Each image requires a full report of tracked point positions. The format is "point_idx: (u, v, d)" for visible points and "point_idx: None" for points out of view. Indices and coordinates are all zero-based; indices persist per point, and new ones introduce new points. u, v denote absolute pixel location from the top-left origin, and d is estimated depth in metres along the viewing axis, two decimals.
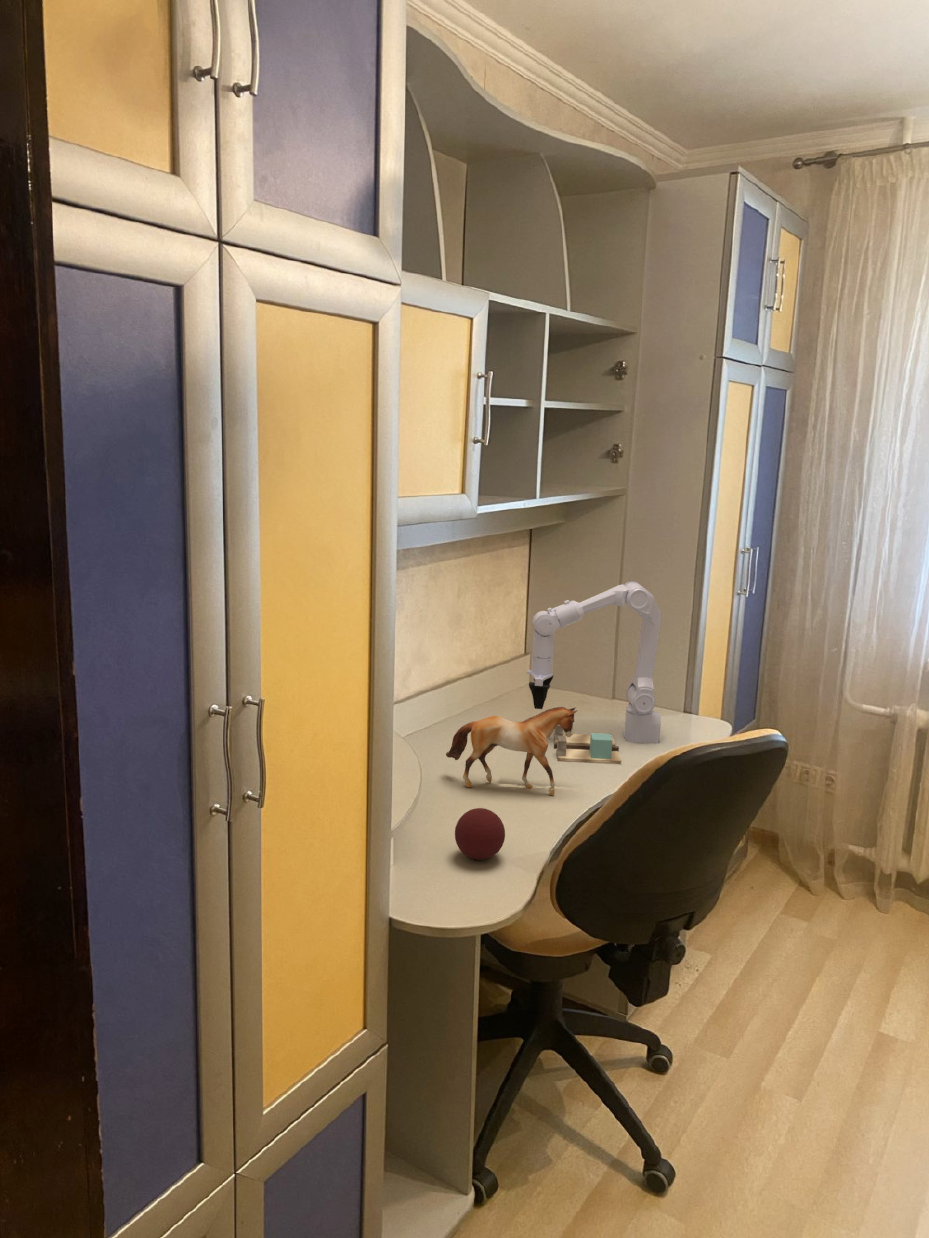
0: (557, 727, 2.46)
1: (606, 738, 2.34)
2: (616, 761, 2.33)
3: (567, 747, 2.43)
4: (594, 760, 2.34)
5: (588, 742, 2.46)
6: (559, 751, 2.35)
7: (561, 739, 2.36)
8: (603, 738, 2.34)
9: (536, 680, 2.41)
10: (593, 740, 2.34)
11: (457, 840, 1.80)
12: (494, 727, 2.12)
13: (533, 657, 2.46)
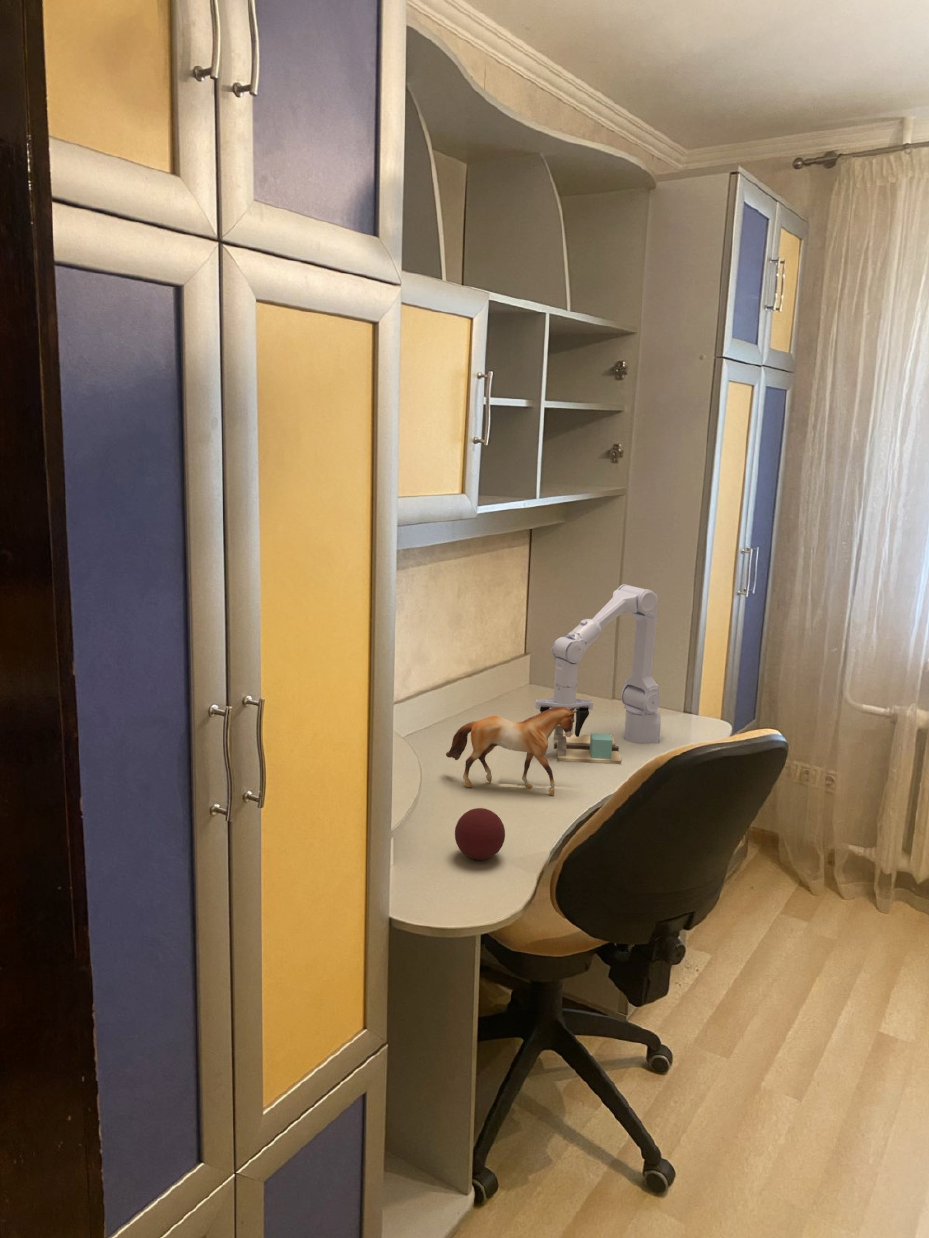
0: (557, 727, 2.46)
1: (606, 738, 2.34)
2: (616, 761, 2.33)
3: (567, 747, 2.43)
4: (594, 760, 2.34)
5: (588, 742, 2.46)
6: (559, 751, 2.35)
7: (561, 739, 2.36)
8: (603, 738, 2.34)
9: None
10: (593, 740, 2.34)
11: (457, 840, 1.80)
12: (494, 727, 2.12)
13: None
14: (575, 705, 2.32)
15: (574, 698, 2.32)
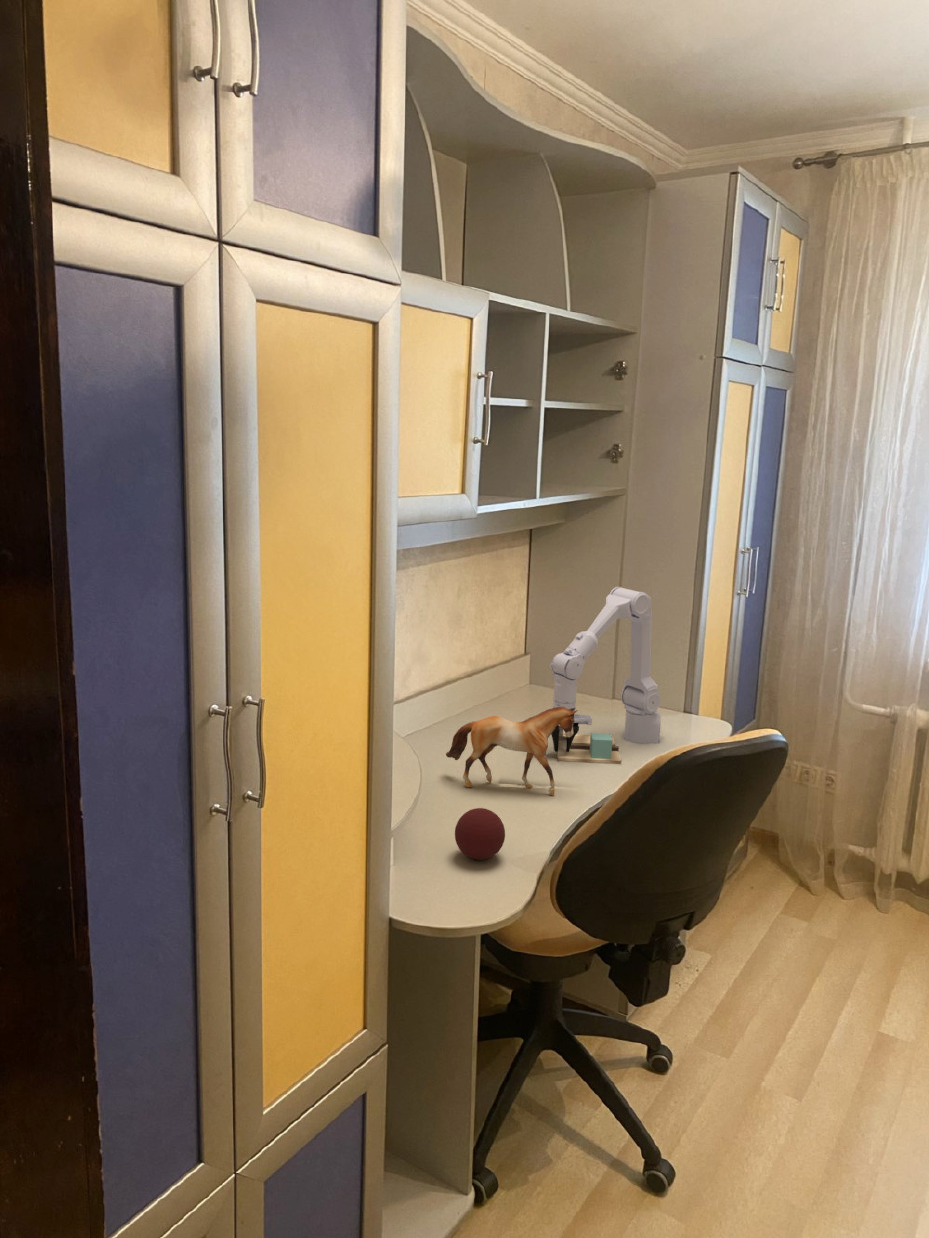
0: None
1: (606, 738, 2.34)
2: (616, 761, 2.33)
3: None
4: (594, 760, 2.34)
5: (588, 742, 2.46)
6: (559, 751, 2.35)
7: (561, 739, 2.36)
8: (603, 738, 2.34)
9: None
10: (593, 740, 2.34)
11: (457, 840, 1.80)
12: (494, 727, 2.12)
13: None
14: (574, 721, 2.33)
15: None
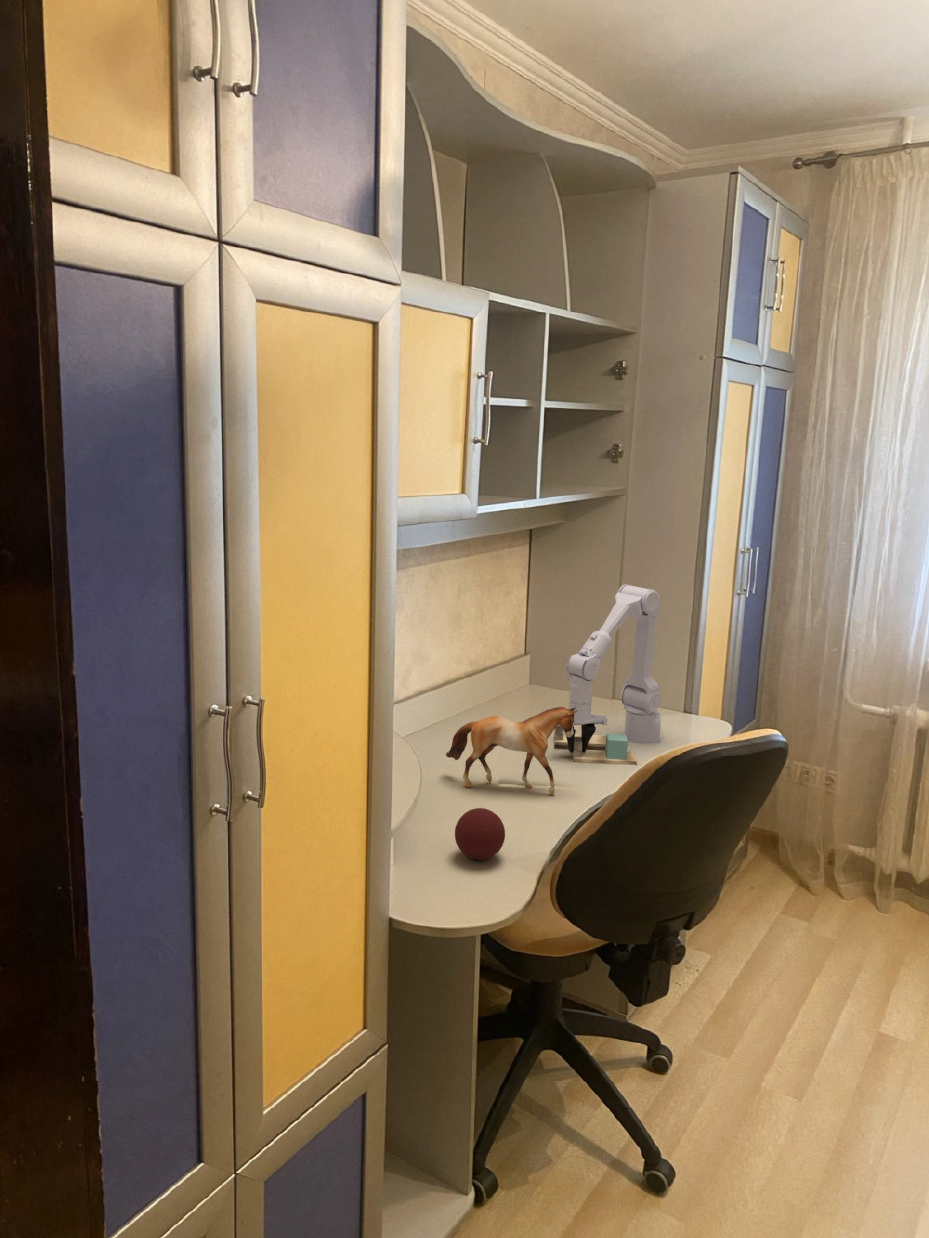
0: (557, 727, 2.46)
1: (622, 739, 2.34)
2: (632, 761, 2.33)
3: (567, 747, 2.43)
4: (610, 761, 2.34)
5: None
6: (575, 752, 2.35)
7: (577, 740, 2.35)
8: (618, 739, 2.34)
9: None
10: (609, 741, 2.34)
11: (457, 840, 1.80)
12: (494, 727, 2.12)
13: None
14: (591, 721, 2.33)
15: (589, 714, 2.33)
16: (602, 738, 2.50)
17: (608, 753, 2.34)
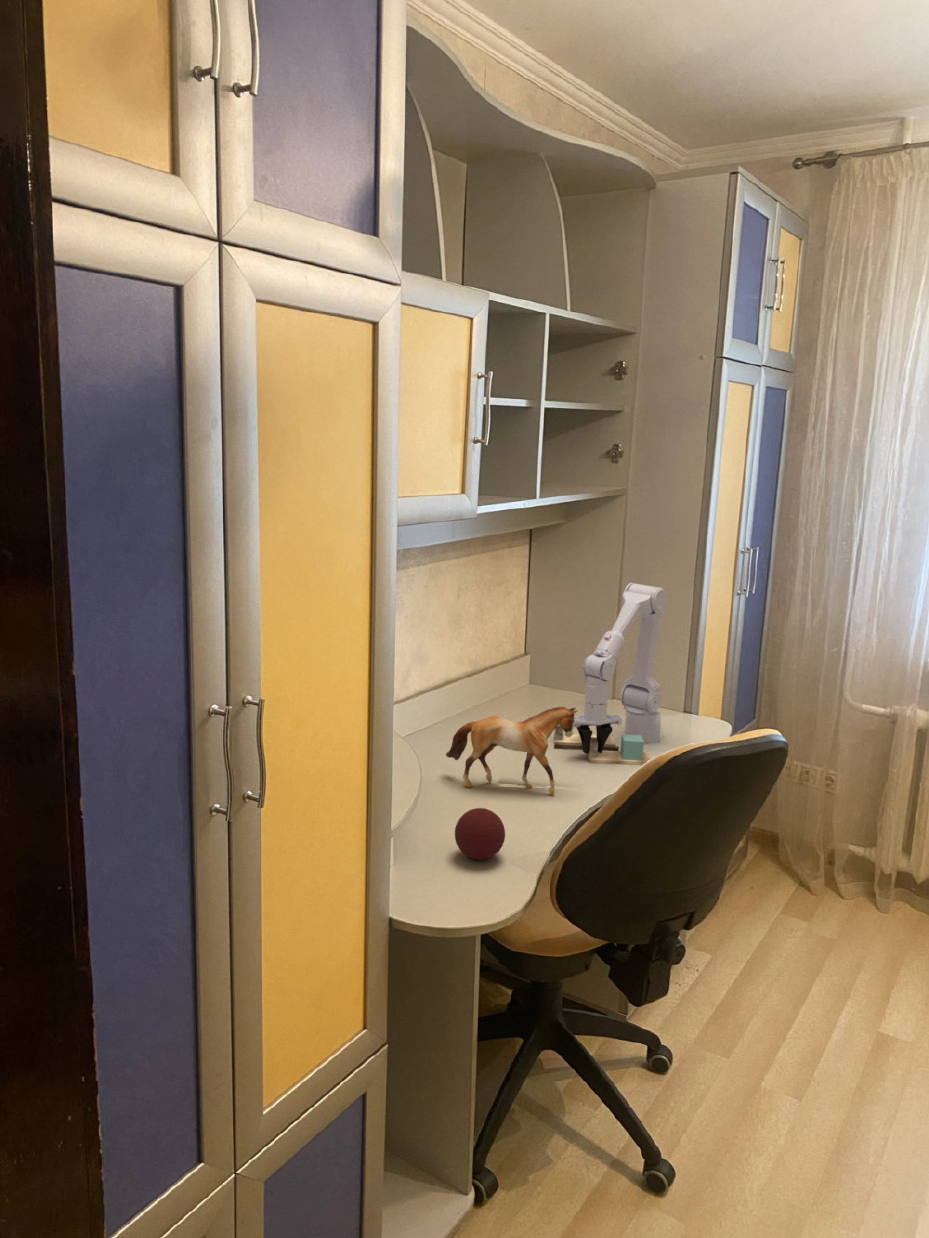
0: (557, 727, 2.46)
1: (638, 740, 2.34)
2: None
3: (567, 747, 2.43)
4: (626, 762, 2.33)
5: None
6: (590, 752, 2.35)
7: (593, 741, 2.35)
8: (634, 740, 2.34)
9: None
10: (625, 741, 2.33)
11: (457, 840, 1.80)
12: (494, 727, 2.12)
13: None
14: (607, 721, 2.34)
15: (606, 715, 2.34)
16: None
17: (624, 754, 2.34)
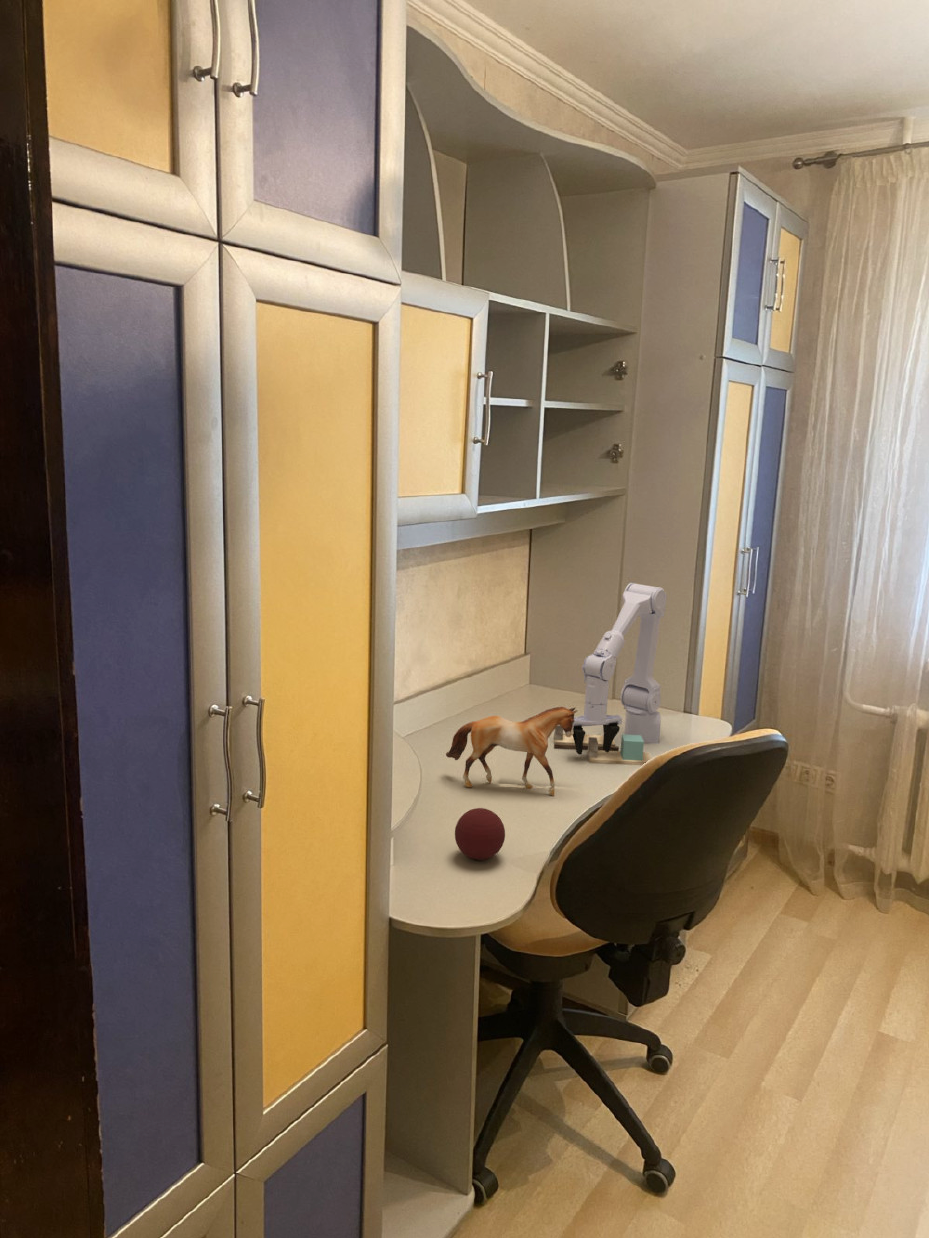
0: (557, 727, 2.46)
1: (638, 740, 2.34)
2: None
3: (567, 747, 2.43)
4: (626, 762, 2.33)
5: None
6: (590, 752, 2.35)
7: (593, 741, 2.35)
8: (634, 740, 2.34)
9: None
10: (625, 741, 2.33)
11: (457, 840, 1.80)
12: (494, 727, 2.12)
13: None
14: (607, 721, 2.33)
15: (606, 715, 2.34)
16: (602, 738, 2.50)
17: (624, 754, 2.34)
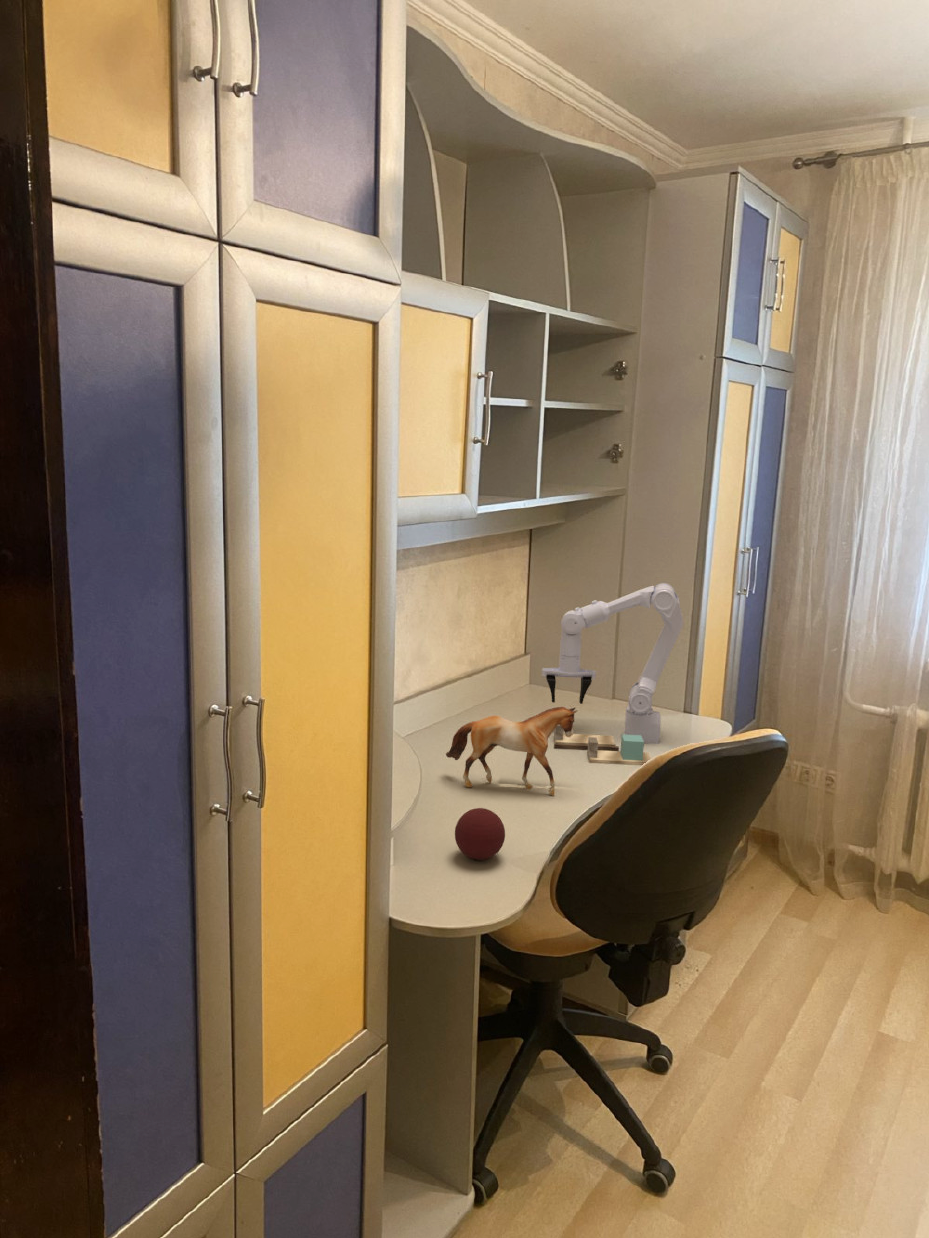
0: (557, 727, 2.46)
1: (638, 740, 2.34)
2: None
3: (567, 747, 2.43)
4: (626, 762, 2.33)
5: None
6: (590, 752, 2.35)
7: (593, 741, 2.35)
8: (634, 740, 2.34)
9: None
10: (625, 741, 2.33)
11: (457, 840, 1.80)
12: (494, 727, 2.12)
13: None
14: (578, 674, 2.50)
15: (577, 667, 2.51)
16: (602, 738, 2.50)
17: (624, 754, 2.34)
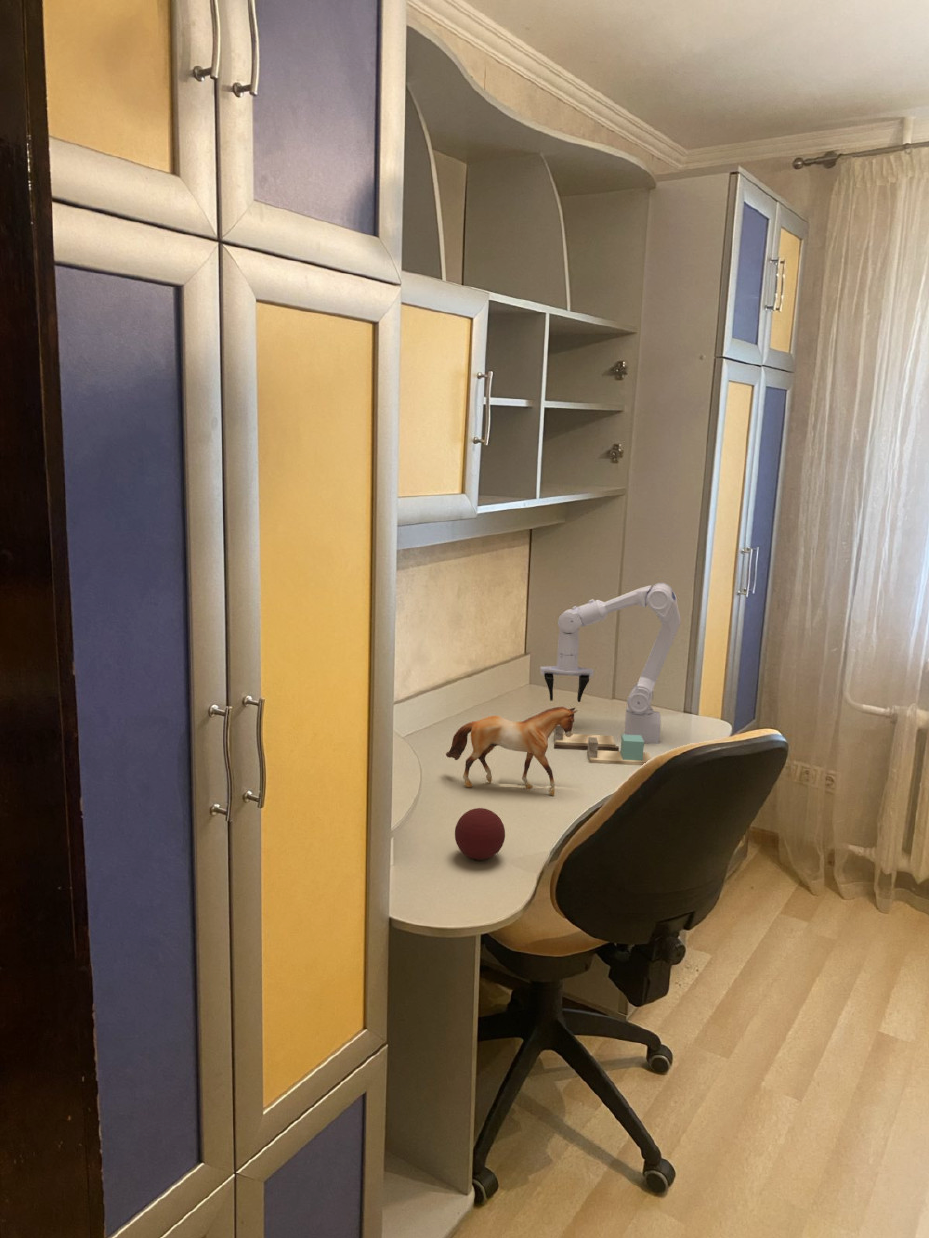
0: (557, 727, 2.46)
1: (638, 740, 2.34)
2: None
3: (567, 747, 2.43)
4: (626, 762, 2.33)
5: None
6: (590, 752, 2.35)
7: (593, 741, 2.35)
8: (634, 740, 2.34)
9: None
10: (625, 741, 2.33)
11: (457, 840, 1.80)
12: (494, 727, 2.12)
13: None
14: (576, 672, 2.52)
15: (575, 666, 2.52)
16: (602, 738, 2.50)
17: (624, 754, 2.34)
